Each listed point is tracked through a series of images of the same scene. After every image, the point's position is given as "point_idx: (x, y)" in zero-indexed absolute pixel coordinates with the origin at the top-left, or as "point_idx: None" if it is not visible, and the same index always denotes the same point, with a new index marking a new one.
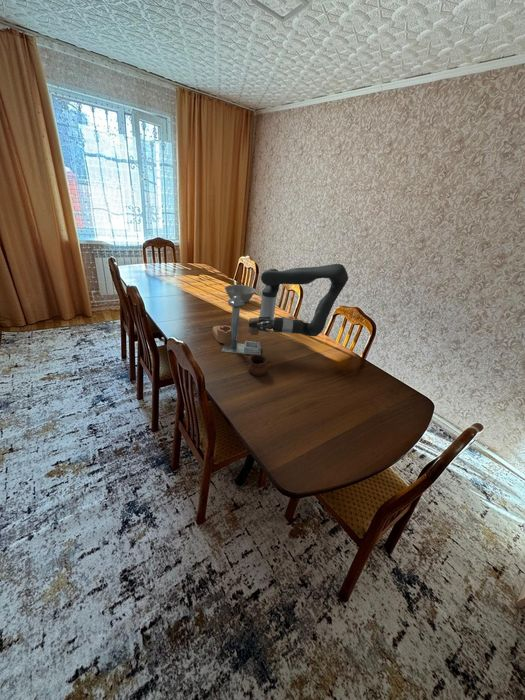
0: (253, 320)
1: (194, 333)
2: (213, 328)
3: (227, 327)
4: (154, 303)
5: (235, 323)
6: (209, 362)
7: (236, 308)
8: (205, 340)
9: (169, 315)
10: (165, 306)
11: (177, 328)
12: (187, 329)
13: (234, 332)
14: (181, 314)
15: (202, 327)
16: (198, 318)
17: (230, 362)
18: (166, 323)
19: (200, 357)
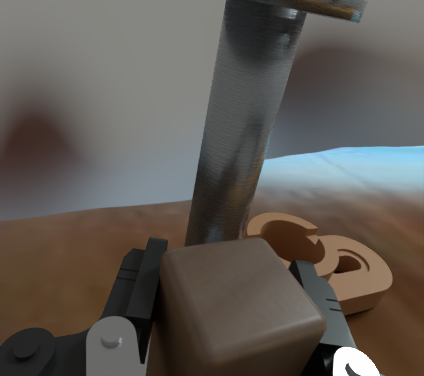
0: (184, 258)
1: (287, 205)
2: (333, 237)
3: (322, 257)
4: (413, 151)
5: (195, 185)
6: (47, 232)
7: (220, 41)
8: (244, 229)
9: (371, 167)
10: (418, 164)
11: (300, 176)
12: (307, 193)
13: (184, 246)
14: (402, 186)
15: (351, 226)
16: (415, 219)
17: (12, 312)
18: (317, 161)
19: (98, 211)
